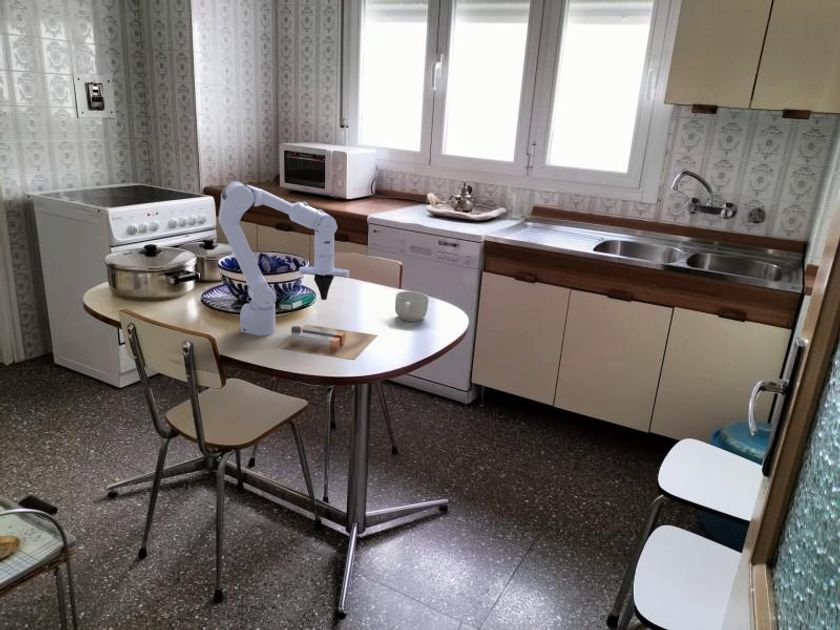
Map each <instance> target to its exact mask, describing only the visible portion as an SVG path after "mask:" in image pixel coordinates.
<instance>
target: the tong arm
mask: <svg viewBox="0 0 840 630" xmlns="http://www.w3.org/2000/svg"><path fill="white" fill-rule="evenodd" d="M303 333H309V334H315V335H322V336H329V337H335V338H340V346H342V345H343V344H344V343H345V333H343V332H337V331H330V330H324V329H318V328H311V327H305V328H304V329H303Z"/></svg>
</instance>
